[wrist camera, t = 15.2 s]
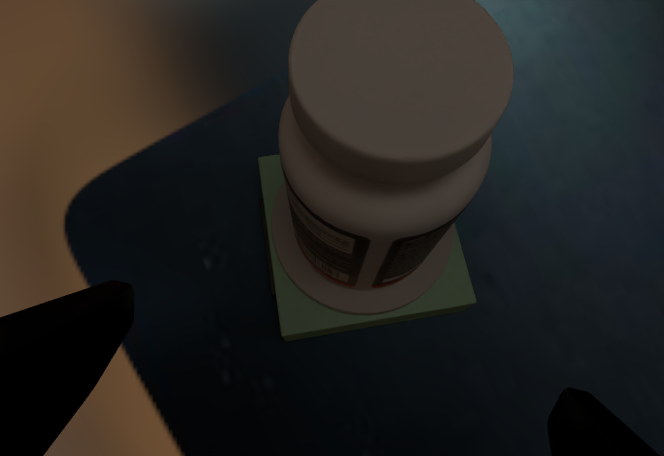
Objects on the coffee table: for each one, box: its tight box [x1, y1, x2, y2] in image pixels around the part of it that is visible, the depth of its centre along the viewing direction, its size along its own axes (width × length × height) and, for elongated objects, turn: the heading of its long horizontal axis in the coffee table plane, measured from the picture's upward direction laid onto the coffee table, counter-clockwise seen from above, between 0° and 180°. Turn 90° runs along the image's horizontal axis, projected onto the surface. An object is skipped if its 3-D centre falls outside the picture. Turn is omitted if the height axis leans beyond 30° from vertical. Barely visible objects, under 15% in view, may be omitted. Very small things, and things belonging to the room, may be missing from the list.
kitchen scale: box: [258, 155, 476, 341], centre depth 20 cm, size 8×8×3 cm
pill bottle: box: [279, 0, 514, 289], centre depth 14 cm, size 6×6×10 cm
